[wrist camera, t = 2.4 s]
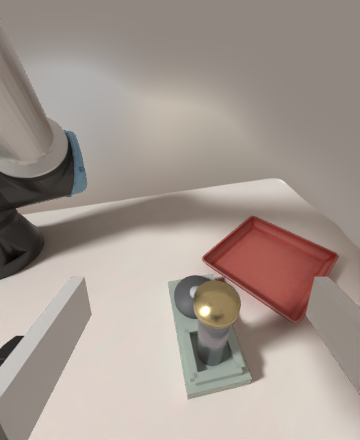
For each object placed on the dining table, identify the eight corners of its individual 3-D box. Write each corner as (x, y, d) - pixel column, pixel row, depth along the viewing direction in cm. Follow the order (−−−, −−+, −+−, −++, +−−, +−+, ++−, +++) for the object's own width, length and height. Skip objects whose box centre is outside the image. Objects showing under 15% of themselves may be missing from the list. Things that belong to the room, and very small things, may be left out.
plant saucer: (199, 269, 43) (199, 257, 41) (249, 225, 53) (252, 213, 51) (291, 336, 33) (298, 325, 31) (333, 266, 43) (340, 254, 41)
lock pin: (190, 336, 31) (189, 284, 24) (221, 330, 32) (230, 277, 24) (198, 374, 28) (200, 327, 20) (233, 366, 28) (248, 317, 21)
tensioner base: (168, 288, 40) (167, 275, 37) (212, 280, 41) (213, 267, 38) (187, 399, 28) (187, 389, 25) (249, 384, 28) (254, 373, 26)
